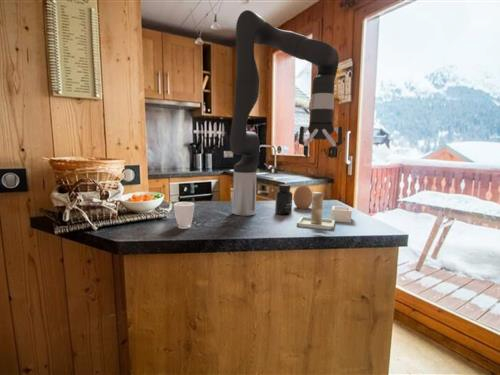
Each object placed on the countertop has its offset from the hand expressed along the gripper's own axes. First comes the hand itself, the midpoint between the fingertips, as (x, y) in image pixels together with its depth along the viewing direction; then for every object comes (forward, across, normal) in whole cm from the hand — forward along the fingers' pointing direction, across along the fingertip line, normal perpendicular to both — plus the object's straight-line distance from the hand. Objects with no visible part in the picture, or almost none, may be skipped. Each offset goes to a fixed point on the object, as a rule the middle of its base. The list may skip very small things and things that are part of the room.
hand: (319, 157), depth 100 cm
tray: (+24, 0, 0) cm, 24 cm away
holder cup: (+24, +8, +10) cm, 28 cm away
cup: (+24, -43, -17) cm, 52 cm away
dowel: (+23, 0, -1) cm, 23 cm away
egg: (+24, -8, +25) cm, 36 cm away
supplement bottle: (+24, -15, +14) cm, 32 cm away
